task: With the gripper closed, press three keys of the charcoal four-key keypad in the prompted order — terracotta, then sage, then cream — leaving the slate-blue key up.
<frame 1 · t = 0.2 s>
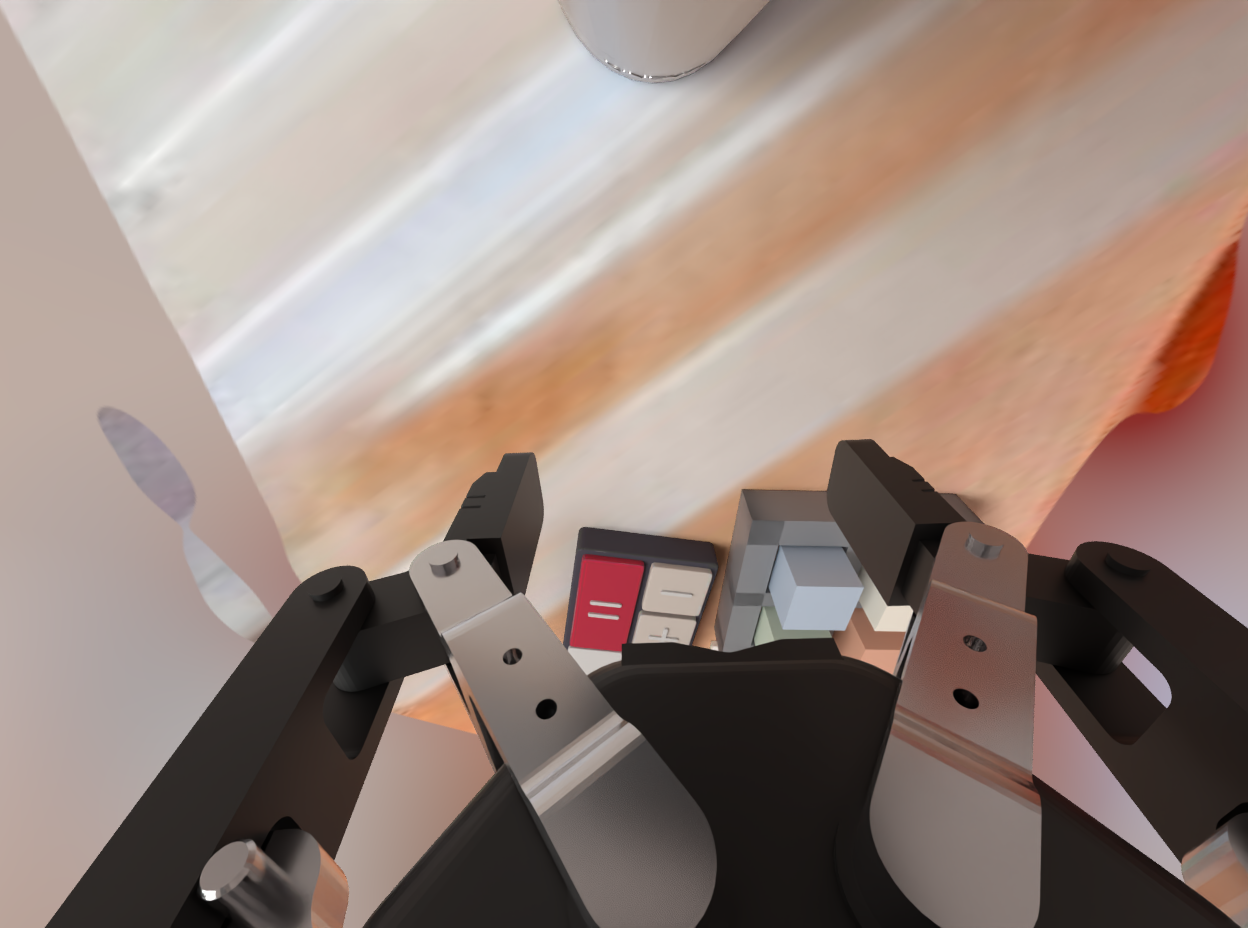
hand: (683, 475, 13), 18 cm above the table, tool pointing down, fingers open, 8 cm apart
terracotta key: (873, 644, 37), point 5 cm above the table, slide at 0.0 cm
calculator: (632, 592, 42), on the table
keypad base: (821, 568, 39), on the table
sage key: (791, 643, 37), point 5 cm above the table, slide at 0.0 cm
slate key: (812, 586, 33), point 5 cm above the table, slide at 0.0 cm
cream key: (902, 588, 33), point 5 cm above the table, slide at 0.0 cm
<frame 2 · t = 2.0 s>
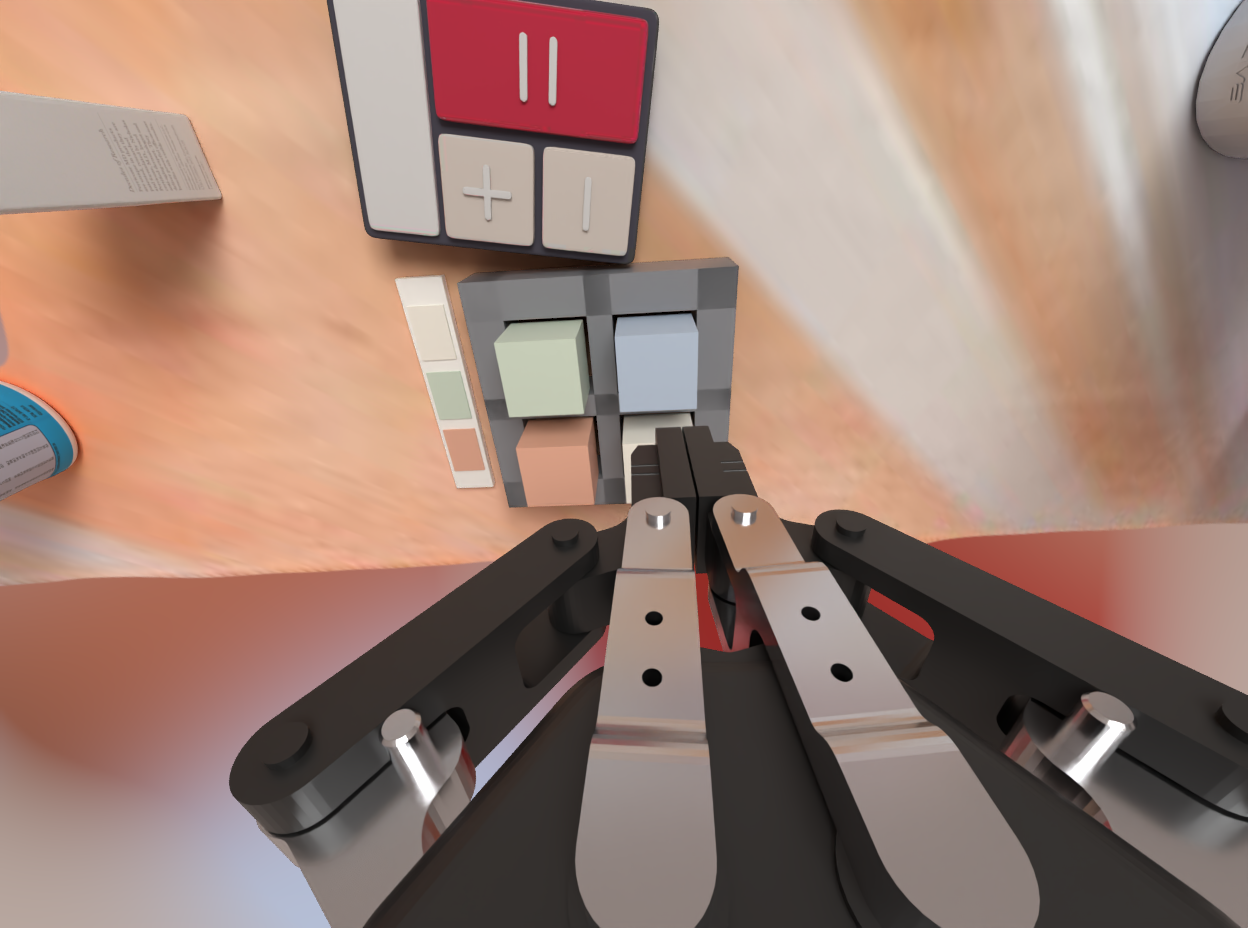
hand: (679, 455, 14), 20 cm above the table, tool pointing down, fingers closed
skincare box: (163, 162, 27), on the table
terracotta key: (560, 461, 31), point 5 cm above the table, slide at 0.0 cm
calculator: (512, 139, 27), on the table
beverage bottle: (26, 423, 37), on the table
keypad base: (609, 384, 34), on the table
sage key: (546, 367, 28), point 5 cm above the table, slide at 0.0 cm
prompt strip: (452, 392, 34), on the table
slate key: (656, 362, 28), point 5 cm above the table, slide at 0.0 cm
cream key: (658, 457, 31), point 5 cm above the table, slide at 0.0 cm
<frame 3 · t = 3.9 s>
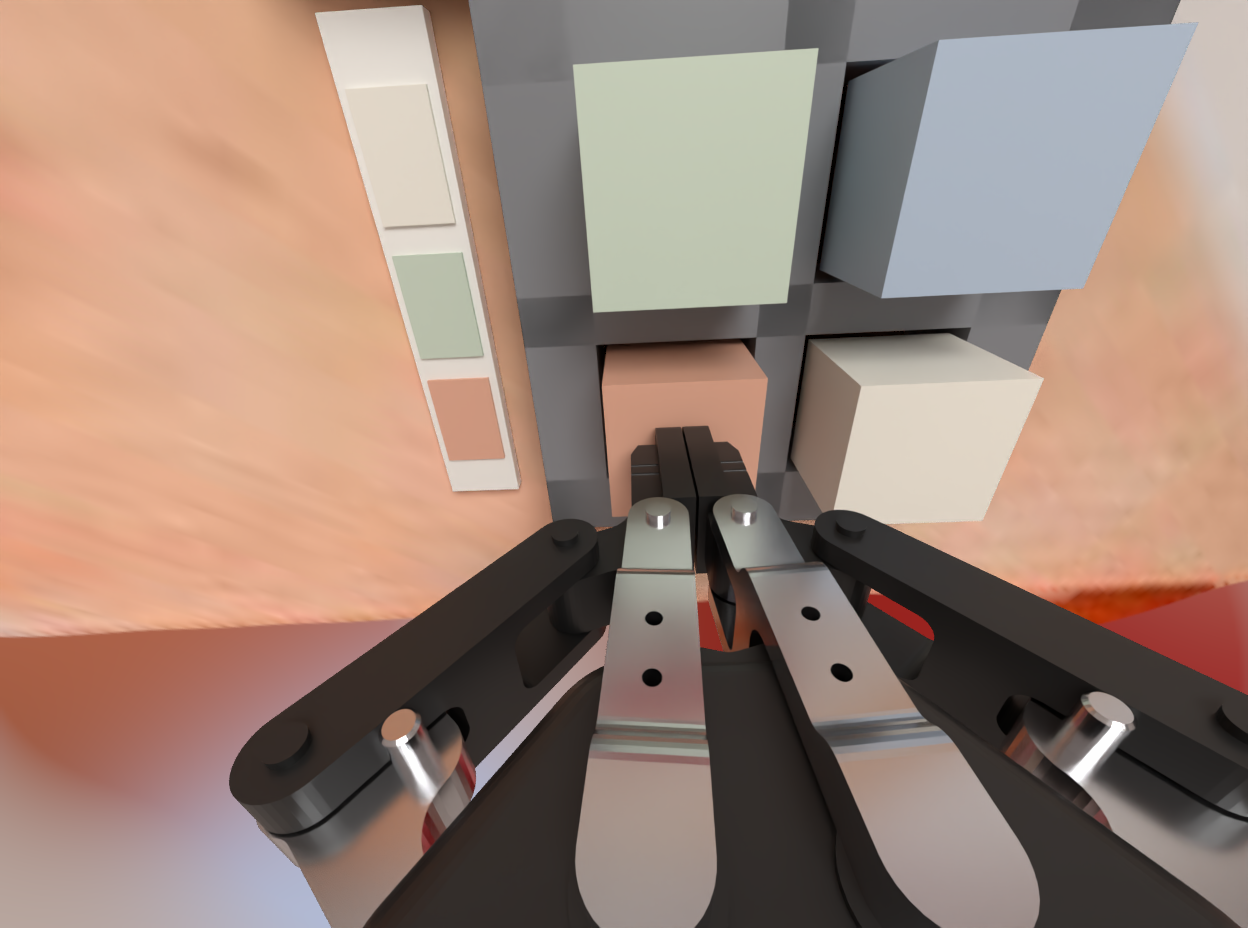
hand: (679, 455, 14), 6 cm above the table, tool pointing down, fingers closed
terracotta key: (677, 423, 15), point 4 cm above the table, slide at -0.8 cm, touching gripper
keypad base: (757, 288, 17), on the table
sage key: (682, 194, 11), point 5 cm above the table, slide at 0.0 cm
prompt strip: (446, 304, 18), on the table
slate key: (958, 178, 11), point 5 cm above the table, slide at 0.0 cm
cream key: (891, 426, 14), point 5 cm above the table, slide at 0.0 cm
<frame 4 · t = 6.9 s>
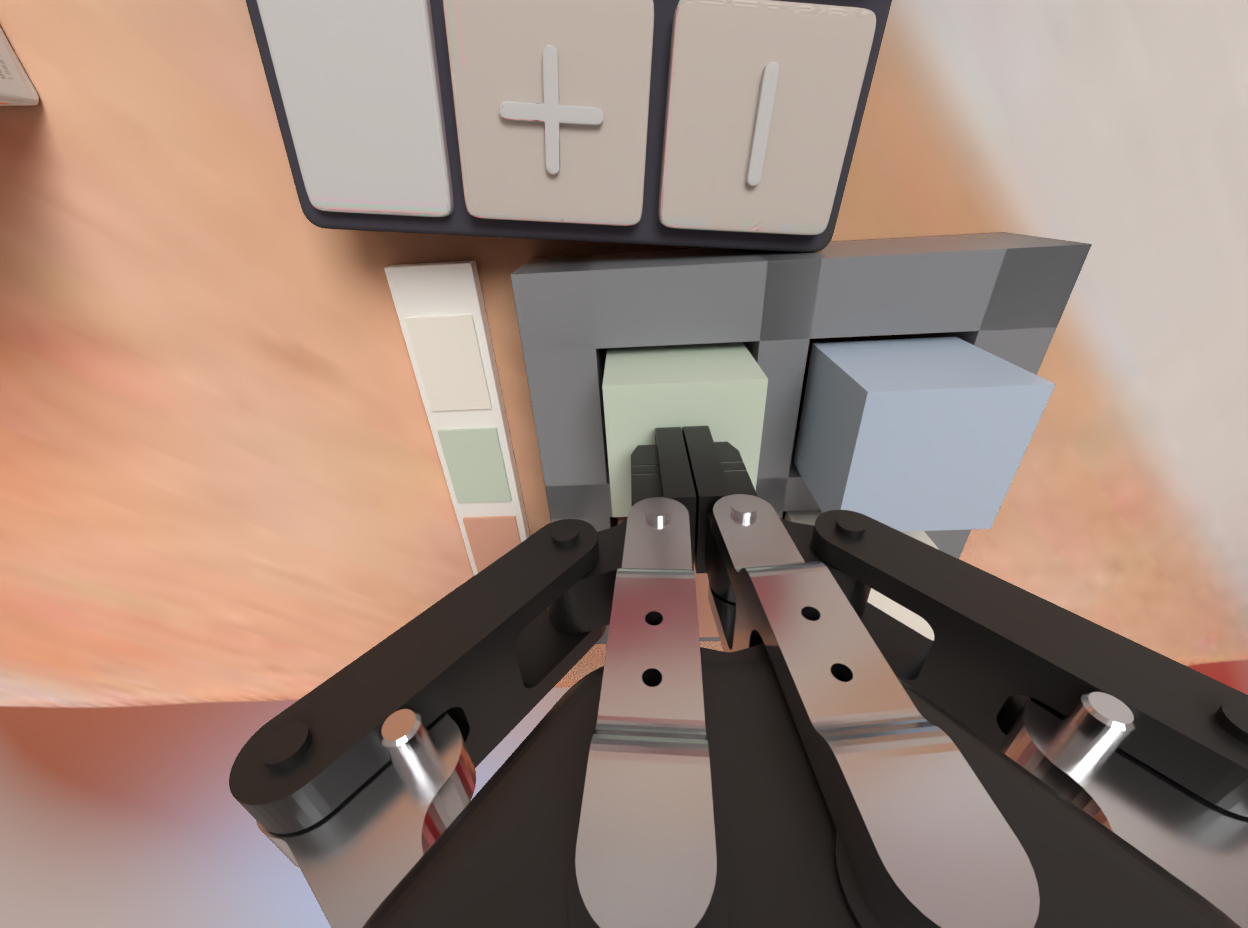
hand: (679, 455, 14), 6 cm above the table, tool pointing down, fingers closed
terracotta key: (674, 561, 19), point 3 cm above the table, slide at -1.7 cm
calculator: (584, 21, 14), on the table
keypad base: (744, 448, 20), on the table
sage key: (677, 423, 15), point 4 cm above the table, slide at -1.1 cm, touching gripper
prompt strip: (480, 459, 21), on the table
slate key: (897, 431, 14), point 5 cm above the table, slide at 0.0 cm
cream key: (853, 587, 17), point 5 cm above the table, slide at 0.0 cm
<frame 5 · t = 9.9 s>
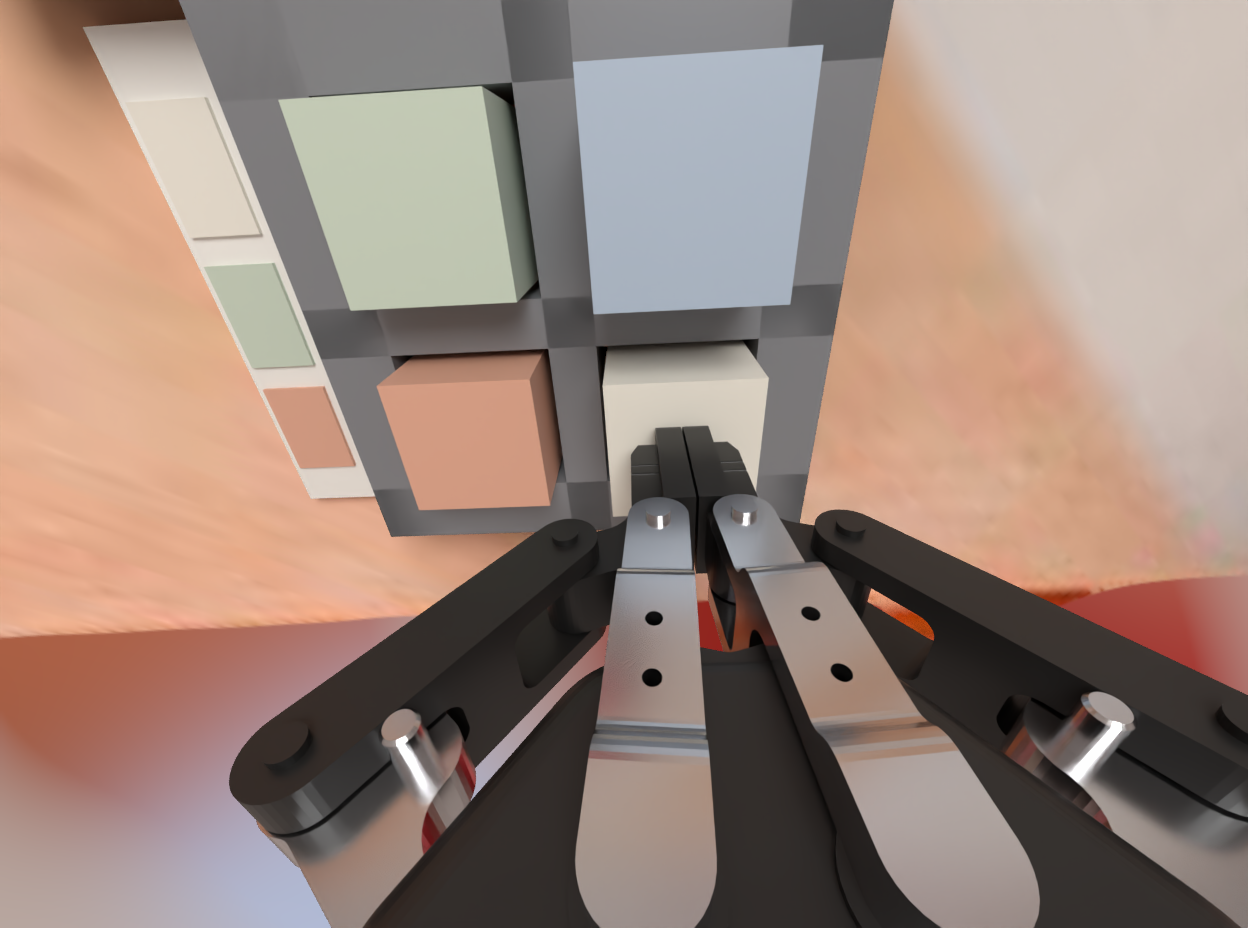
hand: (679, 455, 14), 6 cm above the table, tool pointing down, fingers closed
terracotta key: (486, 421, 16), point 3 cm above the table, slide at -1.7 cm
keypad base: (580, 298, 17), on the table
sage key: (438, 206, 13), point 3 cm above the table, slide at -1.7 cm
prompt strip: (274, 313, 18), on the table
slate key: (683, 194, 11), point 5 cm above the table, slide at 0.0 cm
cream key: (677, 423, 15), point 4 cm above the table, slide at -1.0 cm, touching gripper
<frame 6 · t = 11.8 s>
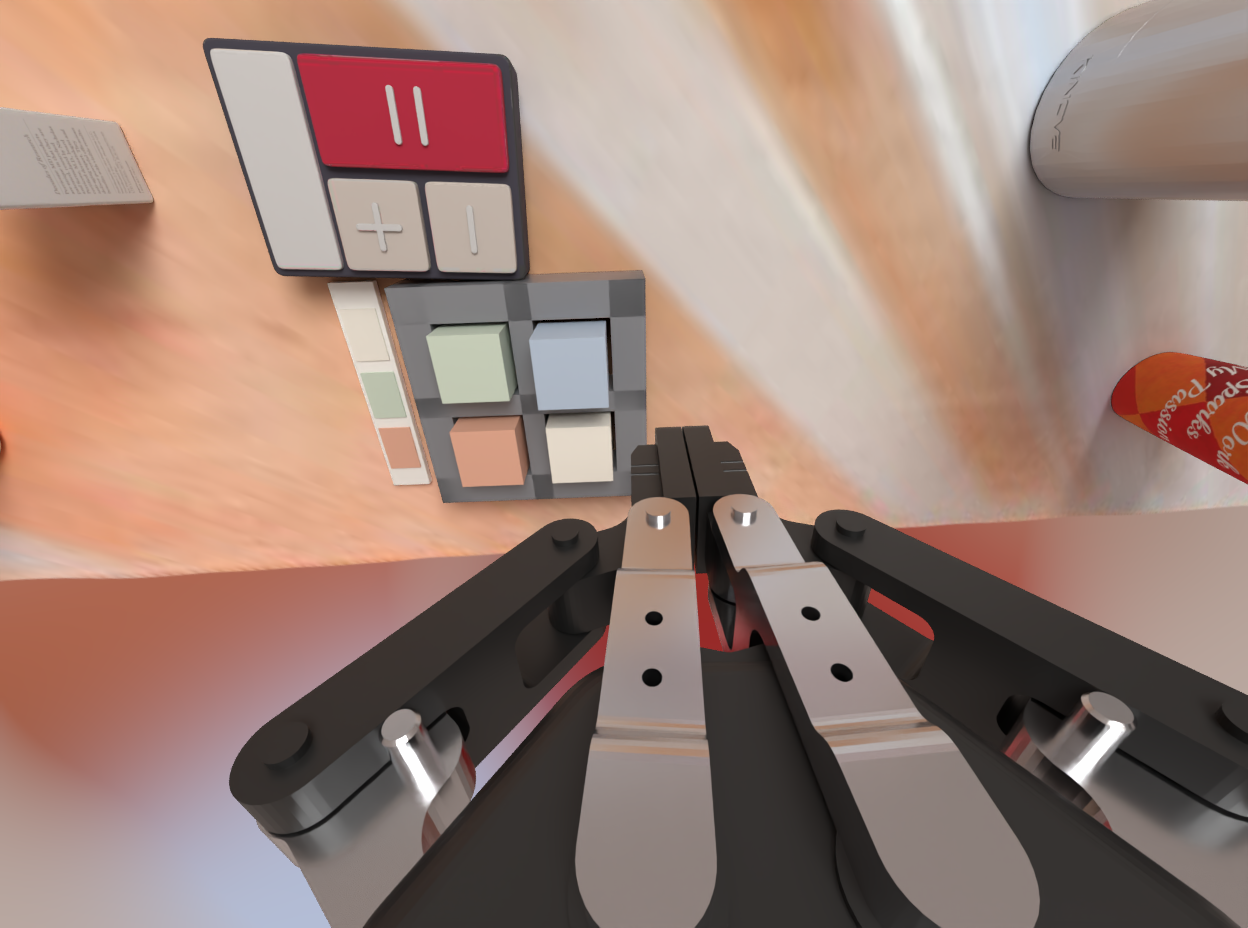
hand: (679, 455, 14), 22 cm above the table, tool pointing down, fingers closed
skincare box: (94, 165, 28), on the table
terracotta key: (493, 445, 35), point 3 cm above the table, slide at -1.7 cm
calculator: (405, 175, 29), on the table
keypad base: (538, 386, 36), on the table
sage key: (477, 360, 31), point 3 cm above the table, slide at -1.7 cm
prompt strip: (387, 392, 36), on the table
paper cup: (1146, 386, 37), on the table
slate key: (572, 364, 30), point 5 cm above the table, slide at 0.0 cm
cream key: (582, 442, 35), point 3 cm above the table, slide at -1.7 cm
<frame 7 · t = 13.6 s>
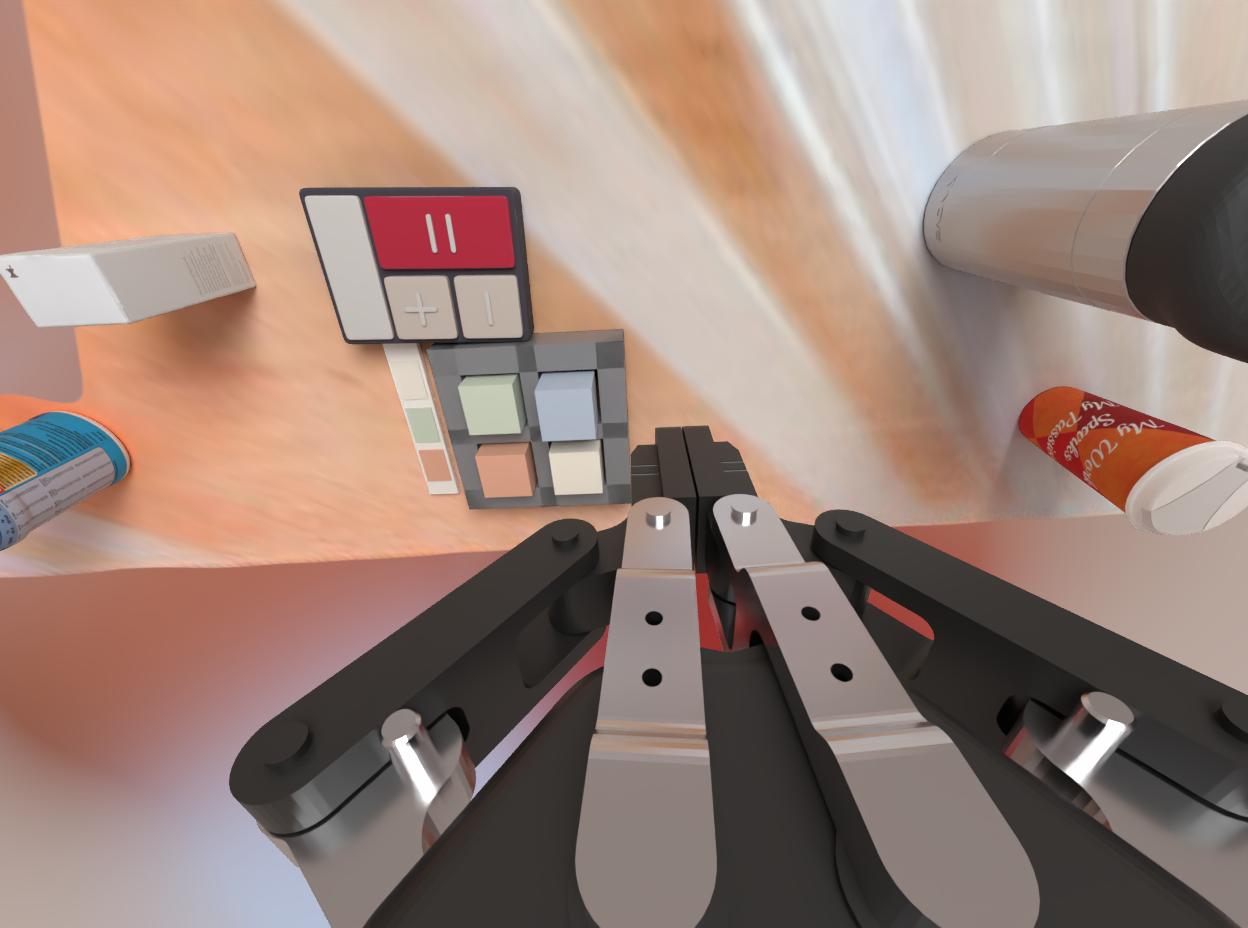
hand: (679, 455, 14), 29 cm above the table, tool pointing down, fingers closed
skincare box: (214, 261, 38), on the table
terracotta key: (509, 465, 44), point 3 cm above the table, slide at -1.7 cm
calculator: (438, 264, 39), on the table
beverage bottle: (90, 444, 47), on the table
keypad base: (544, 417, 45), on the table
sage key: (495, 400, 41), point 3 cm above the table, slide at -1.7 cm
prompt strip: (425, 422, 45), on the table
paper cup: (1047, 413, 45), on the table
slate key: (568, 405, 39), point 5 cm above the table, slide at 0.0 cm
cream key: (578, 462, 44), point 3 cm above the table, slide at -1.7 cm
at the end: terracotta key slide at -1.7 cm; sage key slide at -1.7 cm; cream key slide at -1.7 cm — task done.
